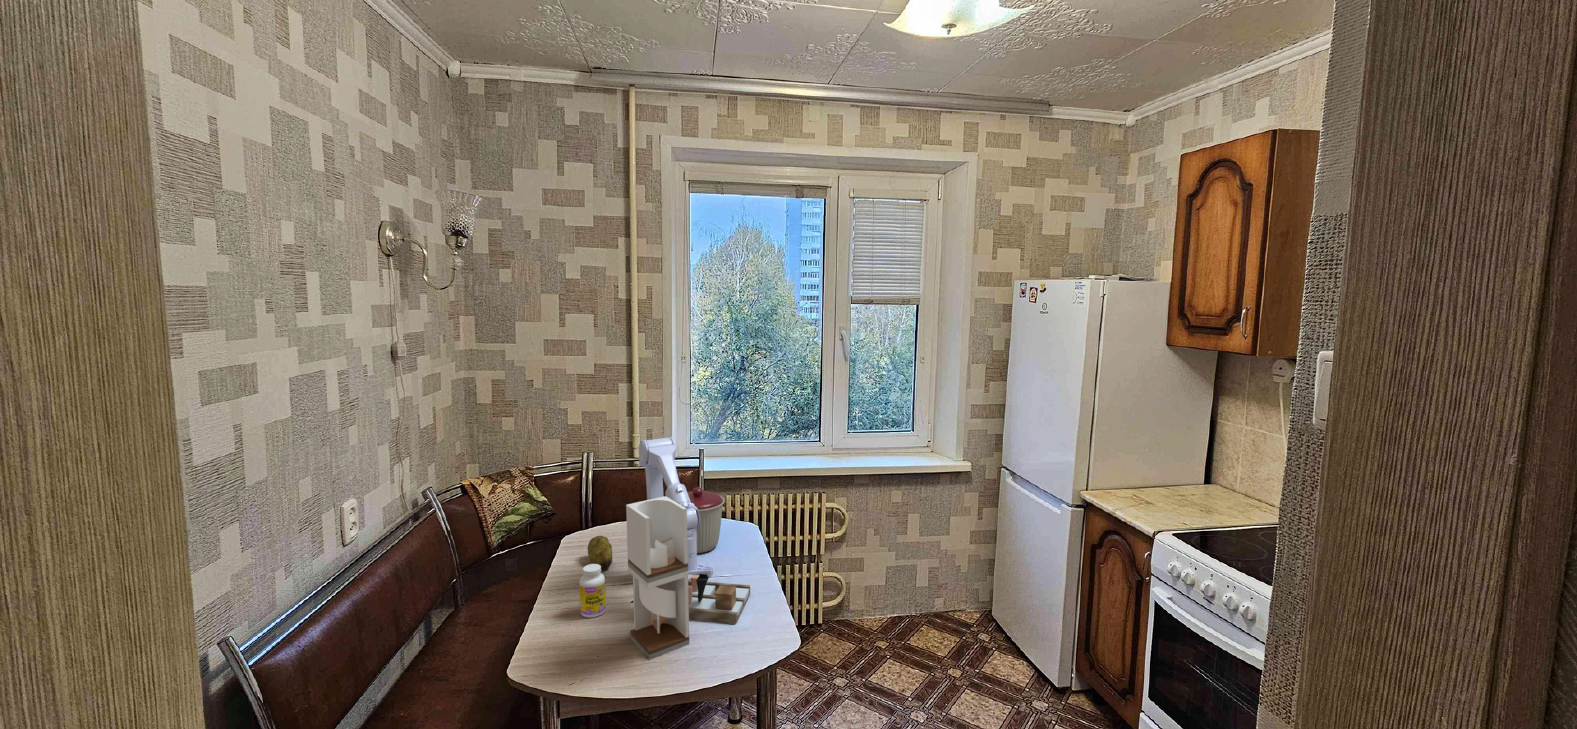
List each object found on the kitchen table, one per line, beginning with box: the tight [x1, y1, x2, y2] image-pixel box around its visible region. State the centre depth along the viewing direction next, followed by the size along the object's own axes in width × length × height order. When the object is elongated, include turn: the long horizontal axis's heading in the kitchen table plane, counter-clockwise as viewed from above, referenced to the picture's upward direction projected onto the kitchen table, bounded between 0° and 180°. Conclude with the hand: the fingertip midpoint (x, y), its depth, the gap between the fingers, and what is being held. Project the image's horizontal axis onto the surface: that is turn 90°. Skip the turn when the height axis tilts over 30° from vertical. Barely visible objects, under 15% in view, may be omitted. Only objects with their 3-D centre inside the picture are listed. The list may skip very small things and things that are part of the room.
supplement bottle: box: [578, 563, 607, 618], centre depth 167 cm, size 7×7×13 cm
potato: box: [587, 535, 613, 571], centre depth 197 cm, size 8×13×8 cm, turn 11°
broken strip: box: [689, 575, 749, 603], centre depth 175 cm, size 16×6×6 cm, turn 80°
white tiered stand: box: [625, 495, 690, 660], centre depth 152 cm, size 11×11×35 cm
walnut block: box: [715, 585, 736, 611], centre depth 166 cm, size 4×4×4 cm
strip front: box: [688, 586, 743, 616], centre depth 167 cm, size 16×6×5 cm, turn 80°
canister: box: [687, 486, 726, 554], centre depth 209 cm, size 18×18×21 cm
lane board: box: [688, 579, 751, 625], centre depth 172 cm, size 22×16×3 cm
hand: (687, 599), depth 168 cm, fingers open, 7 cm apart
